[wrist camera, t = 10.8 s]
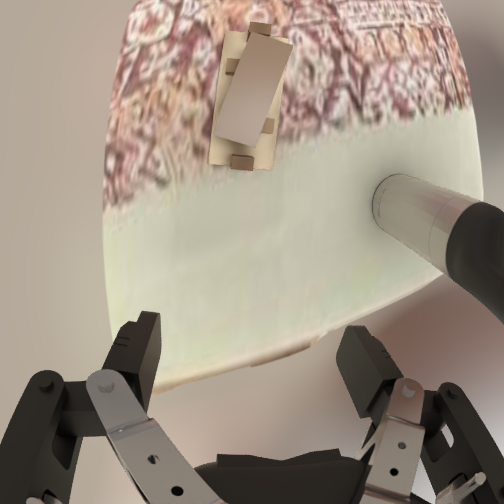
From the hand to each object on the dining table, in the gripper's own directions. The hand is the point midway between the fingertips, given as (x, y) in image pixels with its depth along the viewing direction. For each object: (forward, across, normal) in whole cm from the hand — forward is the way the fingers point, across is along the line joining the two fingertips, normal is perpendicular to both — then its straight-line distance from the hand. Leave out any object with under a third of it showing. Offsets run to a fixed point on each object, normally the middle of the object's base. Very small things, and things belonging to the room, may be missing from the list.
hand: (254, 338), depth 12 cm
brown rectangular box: (+25, 0, -14) cm, 28 cm away
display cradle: (+28, 0, -14) cm, 31 cm away
